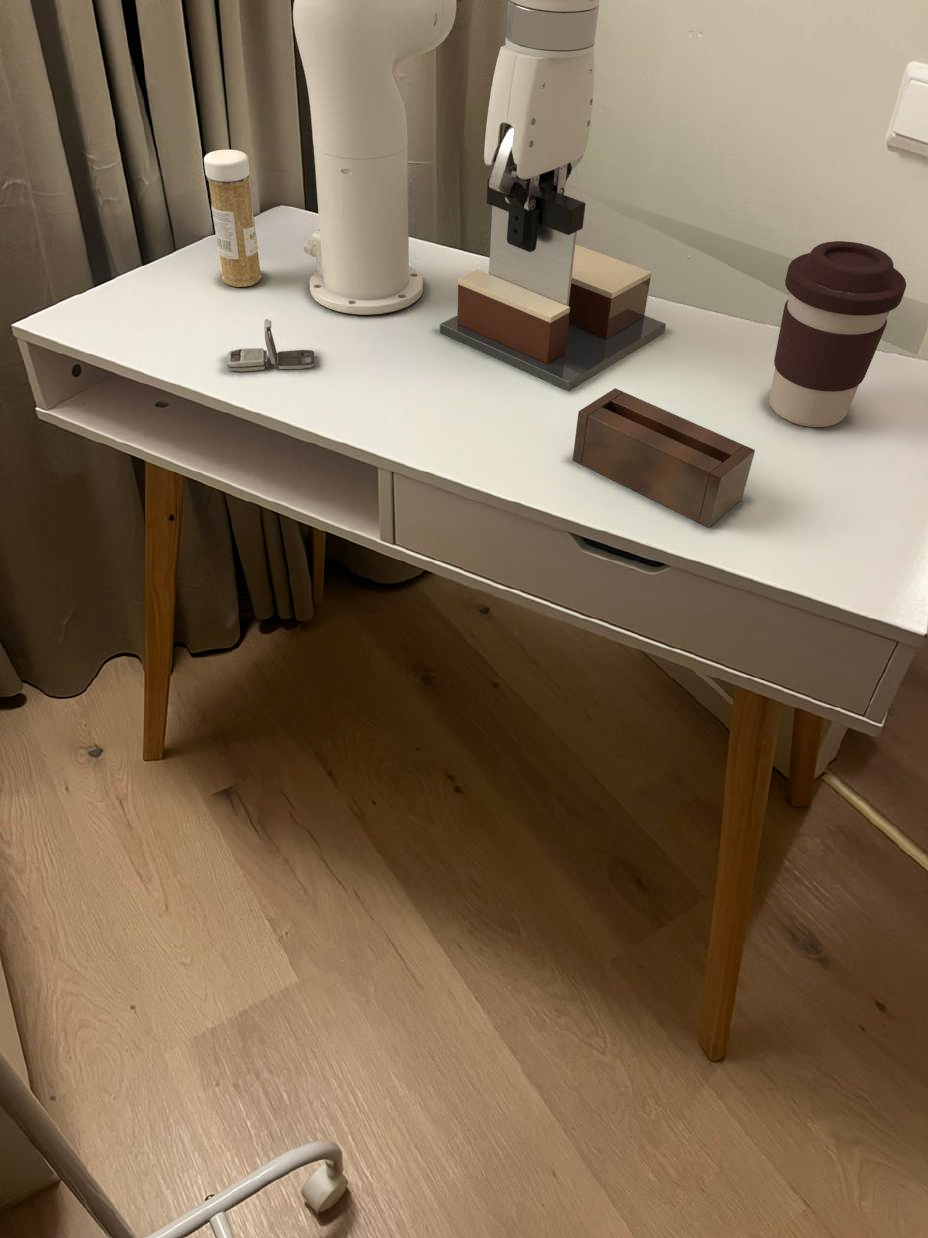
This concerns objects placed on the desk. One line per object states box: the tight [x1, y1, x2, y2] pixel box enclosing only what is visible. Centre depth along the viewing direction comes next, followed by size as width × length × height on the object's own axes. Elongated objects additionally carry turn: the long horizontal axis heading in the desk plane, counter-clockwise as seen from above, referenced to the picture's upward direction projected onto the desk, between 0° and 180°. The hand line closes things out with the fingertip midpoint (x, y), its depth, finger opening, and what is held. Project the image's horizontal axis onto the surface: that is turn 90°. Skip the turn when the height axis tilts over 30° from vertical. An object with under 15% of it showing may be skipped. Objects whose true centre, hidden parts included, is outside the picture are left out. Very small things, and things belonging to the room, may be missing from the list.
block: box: [572, 387, 756, 528], centre depth 84 cm, size 14×5×5 cm, turn 48°
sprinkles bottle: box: [203, 149, 263, 288], centre depth 108 cm, size 5×5×13 cm
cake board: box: [439, 244, 667, 392], centre depth 103 cm, size 17×17×6 cm
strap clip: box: [226, 319, 316, 373], centre depth 97 cm, size 8×3×4 cm, turn 98°
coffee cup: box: [769, 240, 907, 428], centre depth 90 cm, size 10×10×15 cm
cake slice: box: [457, 269, 570, 364], centre depth 100 cm, size 12×3×5 cm, turn 48°
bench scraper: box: [486, 176, 587, 306], centre depth 96 cm, size 10×2×11 cm, turn 48°
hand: (530, 241), depth 96 cm, fingers closed on bench scraper, 2 cm apart
